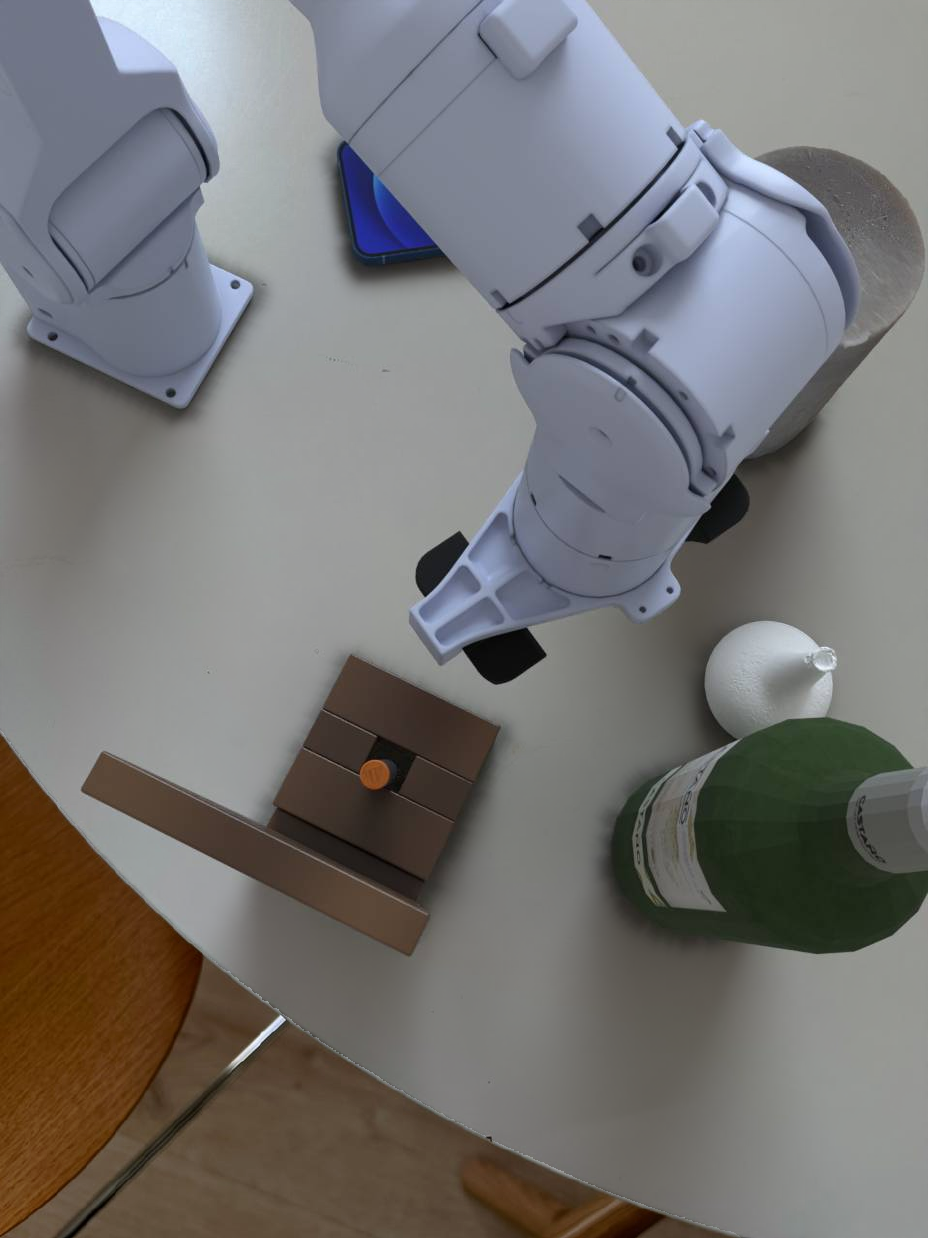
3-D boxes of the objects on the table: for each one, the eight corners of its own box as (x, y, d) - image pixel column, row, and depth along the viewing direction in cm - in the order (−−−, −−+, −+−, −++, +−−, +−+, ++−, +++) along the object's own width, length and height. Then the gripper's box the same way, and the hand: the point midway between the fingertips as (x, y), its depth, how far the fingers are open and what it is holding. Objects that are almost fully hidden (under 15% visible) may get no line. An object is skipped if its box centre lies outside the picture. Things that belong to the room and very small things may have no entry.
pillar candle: (766, 273, 65) (872, 93, 50) (848, 424, 63) (983, 283, 48) (609, 335, 63) (671, 168, 49) (689, 491, 61) (778, 367, 47)
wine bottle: (614, 763, 58) (828, 633, 29) (771, 779, 58) (1140, 666, 29) (604, 926, 56) (820, 963, 27) (765, 942, 56) (1153, 996, 27)
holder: (258, 846, 56) (78, 790, 25) (353, 664, 58) (295, 406, 27) (407, 920, 56) (410, 958, 25) (496, 734, 58) (603, 553, 27)
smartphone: (334, 138, 64) (598, 103, 65) (335, 149, 65) (596, 113, 66) (355, 261, 63) (626, 222, 64) (356, 270, 63) (624, 231, 65)
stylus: (371, 776, 57) (354, 781, 49) (383, 754, 57) (367, 755, 49) (394, 788, 57) (380, 794, 49) (405, 765, 57) (394, 768, 49)
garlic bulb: (684, 642, 60) (726, 604, 52) (800, 618, 60) (858, 577, 52) (715, 762, 58) (763, 743, 50) (834, 737, 59) (899, 713, 51)
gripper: (504, 709, 35) (476, 759, 48) (871, 451, 37) (748, 566, 50) (370, 522, 36) (379, 622, 49) (735, 284, 38) (650, 440, 51)
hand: (560, 585), depth 50 cm, fingers open, 7 cm apart
